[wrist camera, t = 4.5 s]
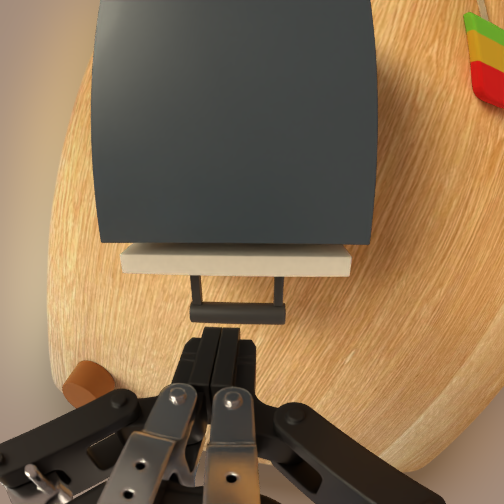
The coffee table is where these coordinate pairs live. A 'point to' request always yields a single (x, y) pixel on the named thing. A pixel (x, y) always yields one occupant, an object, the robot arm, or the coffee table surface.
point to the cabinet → (234, 121)
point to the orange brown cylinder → (87, 383)
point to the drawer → (237, 272)
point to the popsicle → (486, 56)
